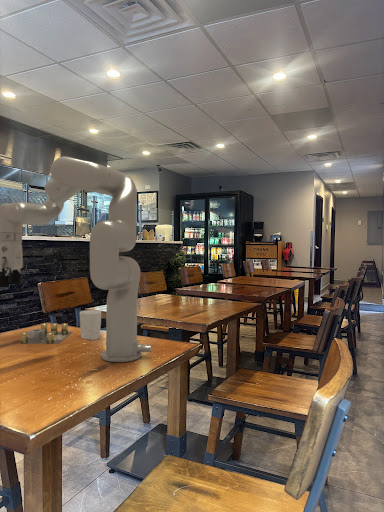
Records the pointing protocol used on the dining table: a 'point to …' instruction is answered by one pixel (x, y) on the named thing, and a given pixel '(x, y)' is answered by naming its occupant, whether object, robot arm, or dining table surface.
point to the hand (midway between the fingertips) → (10, 285)
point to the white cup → (90, 324)
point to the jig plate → (44, 340)
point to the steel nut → (36, 333)
